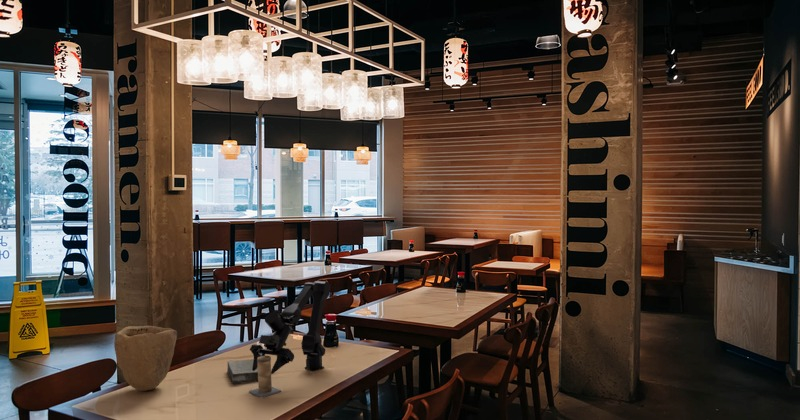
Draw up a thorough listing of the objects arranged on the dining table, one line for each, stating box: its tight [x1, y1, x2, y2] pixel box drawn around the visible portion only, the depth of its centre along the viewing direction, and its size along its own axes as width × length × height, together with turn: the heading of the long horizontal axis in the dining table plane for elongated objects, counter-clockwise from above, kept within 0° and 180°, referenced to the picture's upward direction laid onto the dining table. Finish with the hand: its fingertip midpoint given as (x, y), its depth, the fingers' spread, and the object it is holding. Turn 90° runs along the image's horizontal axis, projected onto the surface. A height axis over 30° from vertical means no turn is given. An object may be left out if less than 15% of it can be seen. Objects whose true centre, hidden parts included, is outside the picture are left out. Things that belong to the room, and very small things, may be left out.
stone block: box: [227, 358, 258, 385], centre depth 232 cm, size 14×20×5 cm
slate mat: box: [248, 386, 282, 399], centre depth 211 cm, size 9×9×1 cm
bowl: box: [113, 325, 178, 392], centre depth 215 cm, size 22×22×25 cm
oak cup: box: [257, 355, 273, 393], centre depth 211 cm, size 5×5×13 cm
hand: (262, 371), depth 209 cm, fingers open, 9 cm apart
